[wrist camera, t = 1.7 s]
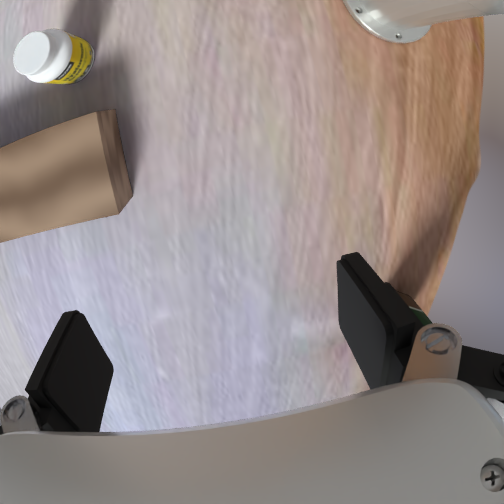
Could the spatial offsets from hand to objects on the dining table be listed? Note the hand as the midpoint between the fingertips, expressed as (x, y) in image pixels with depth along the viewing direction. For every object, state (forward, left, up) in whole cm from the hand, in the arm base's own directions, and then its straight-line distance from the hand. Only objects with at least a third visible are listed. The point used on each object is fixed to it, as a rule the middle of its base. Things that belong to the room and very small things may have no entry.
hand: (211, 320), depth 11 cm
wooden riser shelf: (-4, -21, -26) cm, 33 cm away
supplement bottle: (-16, -13, -26) cm, 33 cm away
